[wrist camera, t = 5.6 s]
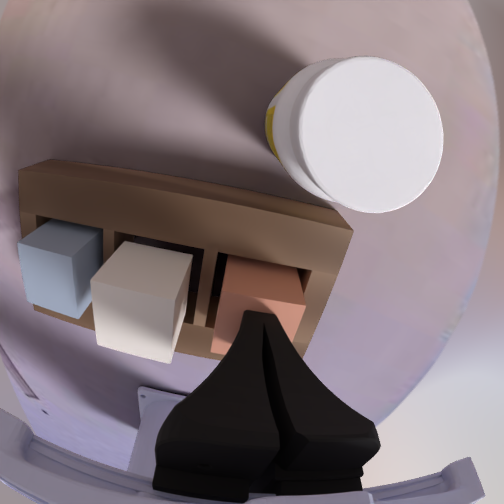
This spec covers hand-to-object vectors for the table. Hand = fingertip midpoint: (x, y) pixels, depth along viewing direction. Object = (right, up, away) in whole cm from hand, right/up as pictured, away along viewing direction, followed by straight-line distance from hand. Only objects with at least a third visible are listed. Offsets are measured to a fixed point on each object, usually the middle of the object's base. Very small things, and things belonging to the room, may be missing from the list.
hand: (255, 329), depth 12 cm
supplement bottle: (+3, +10, +1) cm, 10 cm away
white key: (-5, +2, +2) cm, 6 cm away
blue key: (-10, +3, +2) cm, 11 cm away
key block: (-5, +3, +4) cm, 7 cm away
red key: (0, +2, +3) cm, 4 cm away
